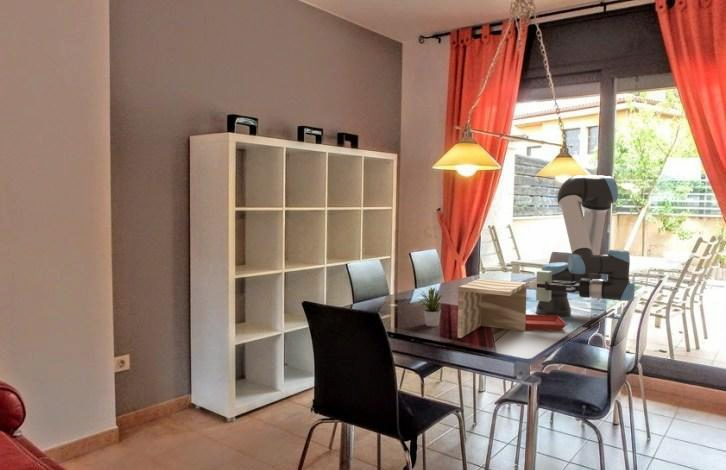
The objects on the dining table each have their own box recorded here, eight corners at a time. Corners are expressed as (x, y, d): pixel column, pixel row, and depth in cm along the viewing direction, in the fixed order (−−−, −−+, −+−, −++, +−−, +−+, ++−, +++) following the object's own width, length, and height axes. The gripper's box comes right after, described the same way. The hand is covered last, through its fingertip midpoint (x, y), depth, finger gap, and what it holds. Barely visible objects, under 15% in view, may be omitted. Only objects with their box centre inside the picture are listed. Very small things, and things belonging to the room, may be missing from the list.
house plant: (411, 320, 232) (411, 283, 231) (442, 320, 233) (443, 283, 232) (416, 328, 218) (417, 288, 217) (450, 328, 219) (450, 288, 218)
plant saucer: (514, 320, 234) (515, 313, 234) (557, 322, 232) (558, 314, 231) (520, 331, 217) (520, 322, 216) (566, 332, 214) (567, 324, 214)
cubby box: (478, 324, 226) (479, 278, 224) (525, 330, 216) (526, 282, 214) (457, 337, 205) (458, 286, 203) (508, 344, 195) (509, 291, 193)
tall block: (538, 298, 225) (539, 270, 224) (551, 299, 222) (552, 271, 222) (536, 300, 221) (536, 271, 220) (548, 301, 218) (549, 272, 217)
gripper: (587, 301, 204) (525, 295, 216) (593, 294, 220) (535, 289, 232) (587, 281, 204) (525, 277, 216) (594, 276, 219) (536, 272, 231)
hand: (531, 283), depth 224 cm, fingers closed on tall block, 5 cm apart
